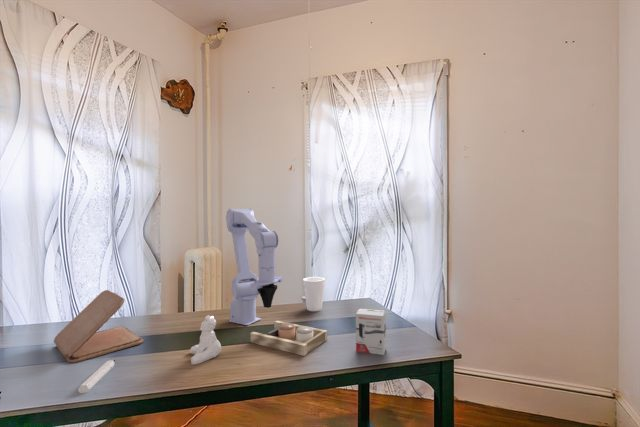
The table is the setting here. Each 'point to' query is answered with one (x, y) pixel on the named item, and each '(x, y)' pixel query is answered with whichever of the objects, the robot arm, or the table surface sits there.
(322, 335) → the beige flat open box
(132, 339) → the case
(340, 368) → the table surface
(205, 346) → the sitting furry creature
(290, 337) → the terracotta jar
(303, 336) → the cream jar
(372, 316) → the ink box
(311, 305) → the foam cup
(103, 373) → the marker
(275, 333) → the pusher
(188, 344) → the table surface
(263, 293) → the robot arm
